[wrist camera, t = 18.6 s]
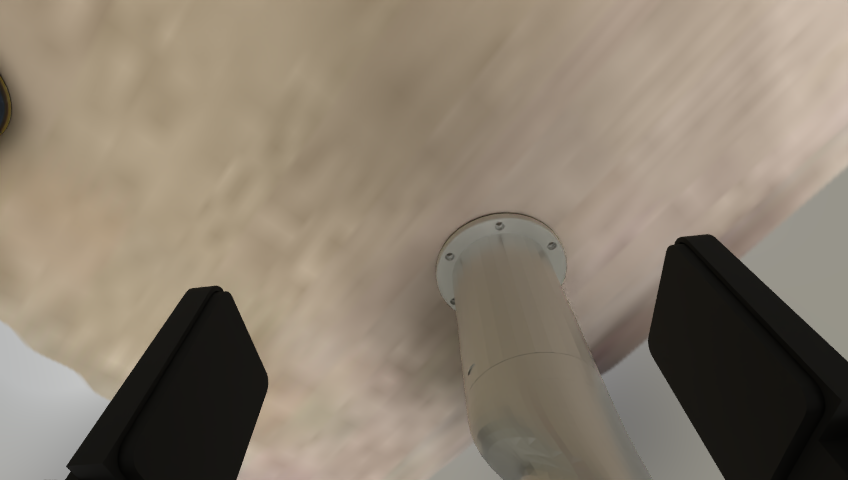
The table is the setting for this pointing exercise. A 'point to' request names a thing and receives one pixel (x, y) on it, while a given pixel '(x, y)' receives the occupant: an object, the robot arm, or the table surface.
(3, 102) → the apothecary jar
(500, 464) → the robot arm
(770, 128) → the table surface
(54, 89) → the table surface
